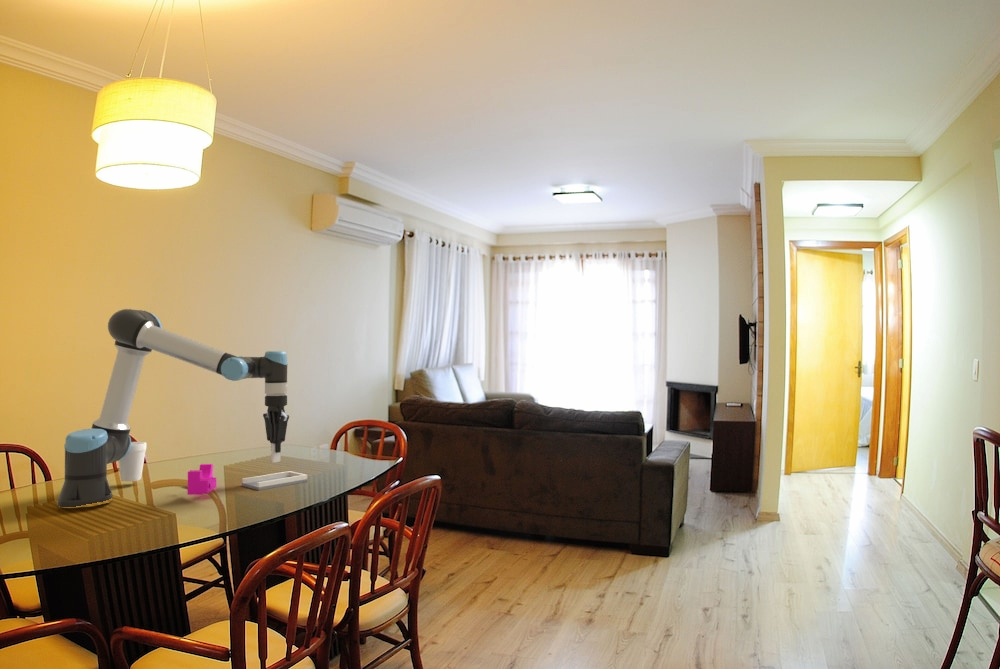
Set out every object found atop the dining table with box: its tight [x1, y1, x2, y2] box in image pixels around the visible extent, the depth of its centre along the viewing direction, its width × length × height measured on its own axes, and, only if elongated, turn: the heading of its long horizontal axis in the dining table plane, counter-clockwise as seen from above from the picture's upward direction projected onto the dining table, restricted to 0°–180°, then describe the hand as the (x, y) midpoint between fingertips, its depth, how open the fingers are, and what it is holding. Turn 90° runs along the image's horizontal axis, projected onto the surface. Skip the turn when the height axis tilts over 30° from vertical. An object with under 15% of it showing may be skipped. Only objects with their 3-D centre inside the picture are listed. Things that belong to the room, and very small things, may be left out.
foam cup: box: [117, 441, 147, 482], centre depth 244 cm, size 10×9×13 cm
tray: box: [241, 470, 308, 491], centre depth 238 cm, size 19×11×2 cm, turn 140°
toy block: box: [187, 463, 217, 496], centre depth 229 cm, size 15×6×8 cm, turn 8°
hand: (275, 461), depth 238 cm, fingers closed
